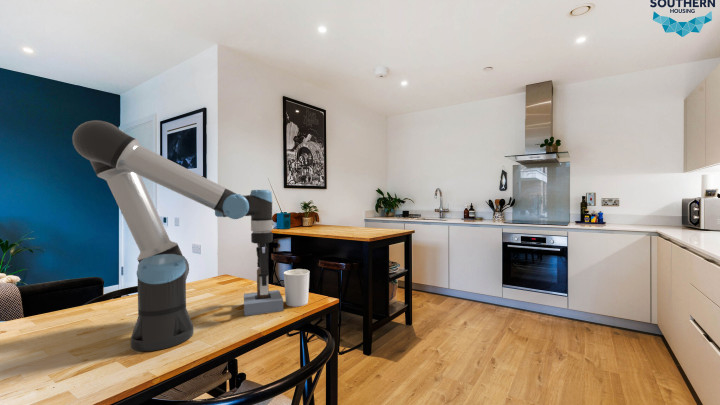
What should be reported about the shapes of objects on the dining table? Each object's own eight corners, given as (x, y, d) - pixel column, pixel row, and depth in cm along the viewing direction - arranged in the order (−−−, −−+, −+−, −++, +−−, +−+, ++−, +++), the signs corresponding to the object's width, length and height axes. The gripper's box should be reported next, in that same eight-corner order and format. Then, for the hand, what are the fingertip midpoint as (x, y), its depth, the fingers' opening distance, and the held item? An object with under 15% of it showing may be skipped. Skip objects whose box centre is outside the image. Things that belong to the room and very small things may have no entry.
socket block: (244, 316, 106) (244, 304, 106) (243, 304, 118) (243, 293, 118) (283, 310, 111) (283, 299, 111) (278, 299, 123) (278, 289, 123)
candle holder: (307, 307, 114) (306, 275, 114) (280, 307, 114) (280, 275, 114) (312, 298, 124) (311, 268, 124) (287, 299, 124) (287, 269, 124)
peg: (269, 308, 113) (268, 270, 113) (257, 310, 112) (257, 271, 112) (268, 305, 117) (267, 268, 117) (257, 306, 116) (256, 269, 116)
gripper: (276, 234, 104) (277, 297, 104) (269, 228, 127) (270, 280, 127) (252, 235, 101) (253, 300, 102) (250, 229, 125) (250, 282, 125)
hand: (262, 289), depth 115 cm, fingers open, 13 cm apart
